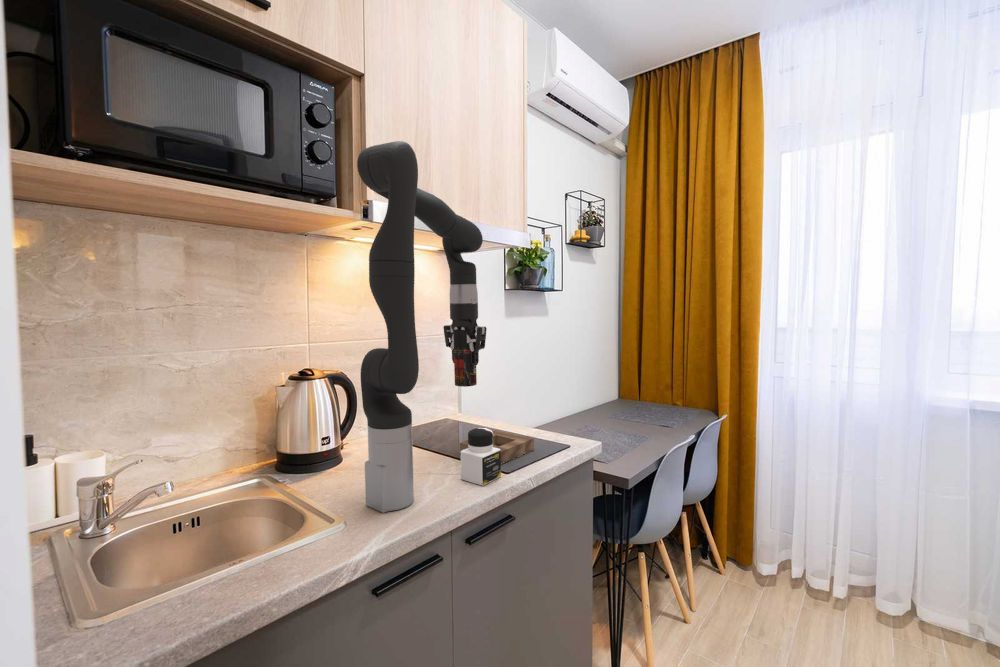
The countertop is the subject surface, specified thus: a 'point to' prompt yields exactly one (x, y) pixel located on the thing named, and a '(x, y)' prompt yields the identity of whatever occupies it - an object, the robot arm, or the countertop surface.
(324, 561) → the countertop surface
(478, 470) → the medicine bottle
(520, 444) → the frame
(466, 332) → the deodorant
